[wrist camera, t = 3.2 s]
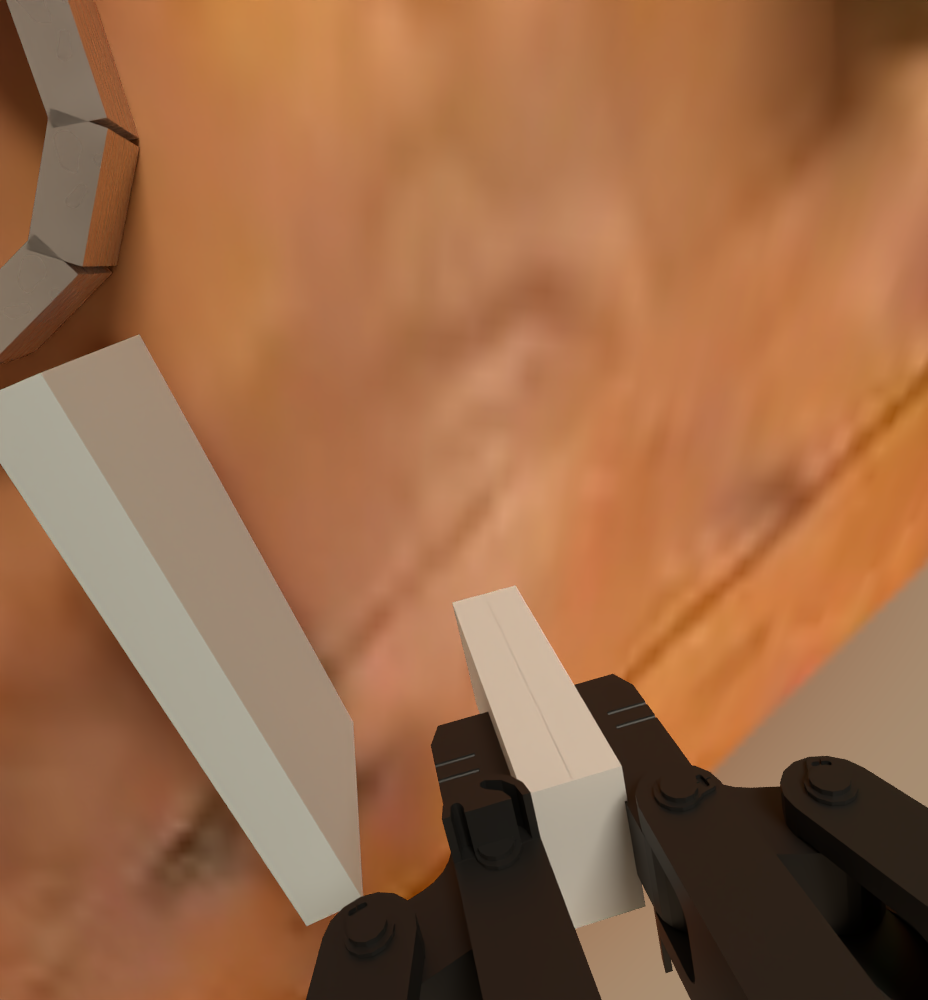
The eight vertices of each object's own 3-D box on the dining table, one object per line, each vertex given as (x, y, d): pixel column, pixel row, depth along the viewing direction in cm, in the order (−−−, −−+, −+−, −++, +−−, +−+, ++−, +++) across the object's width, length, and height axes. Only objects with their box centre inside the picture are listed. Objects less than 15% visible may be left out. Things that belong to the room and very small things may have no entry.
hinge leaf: (312, 740, 25) (306, 926, 18) (88, 355, 20) (-38, 406, 13) (352, 722, 25) (363, 900, 18) (139, 334, 20) (40, 373, 13)
